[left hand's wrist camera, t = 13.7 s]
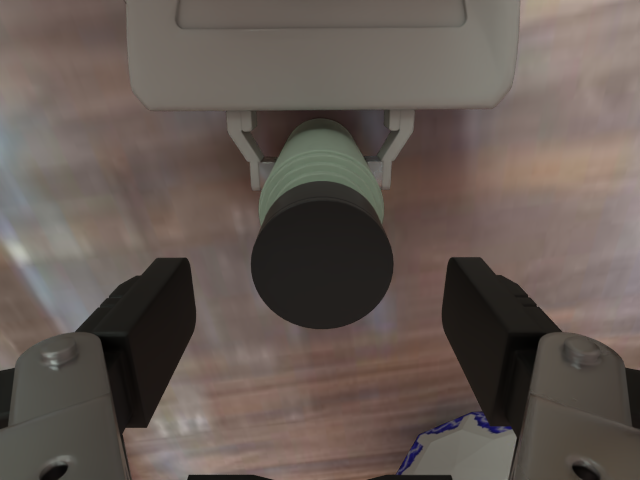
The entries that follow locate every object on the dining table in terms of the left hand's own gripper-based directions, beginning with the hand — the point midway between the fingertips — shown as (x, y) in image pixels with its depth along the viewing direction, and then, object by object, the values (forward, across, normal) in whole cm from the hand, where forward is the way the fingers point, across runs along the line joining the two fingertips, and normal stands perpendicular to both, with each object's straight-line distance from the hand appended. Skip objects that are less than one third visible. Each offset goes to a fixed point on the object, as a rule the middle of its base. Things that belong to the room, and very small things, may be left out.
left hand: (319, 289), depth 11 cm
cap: (+2, 0, 0) cm, 2 cm away
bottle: (+21, 0, 0) cm, 21 cm away
